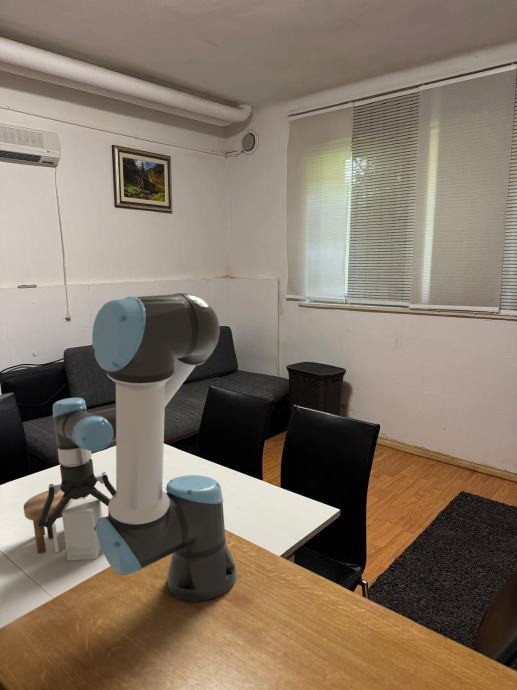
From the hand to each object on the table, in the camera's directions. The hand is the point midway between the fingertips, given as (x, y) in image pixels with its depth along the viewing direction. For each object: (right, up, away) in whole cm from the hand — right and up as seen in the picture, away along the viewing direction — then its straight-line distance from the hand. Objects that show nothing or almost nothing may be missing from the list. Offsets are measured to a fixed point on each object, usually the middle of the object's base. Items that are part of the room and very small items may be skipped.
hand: (86, 541), depth 120 cm
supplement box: (0, -3, 0) cm, 3 cm away
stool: (-10, -2, +8) cm, 13 cm away
